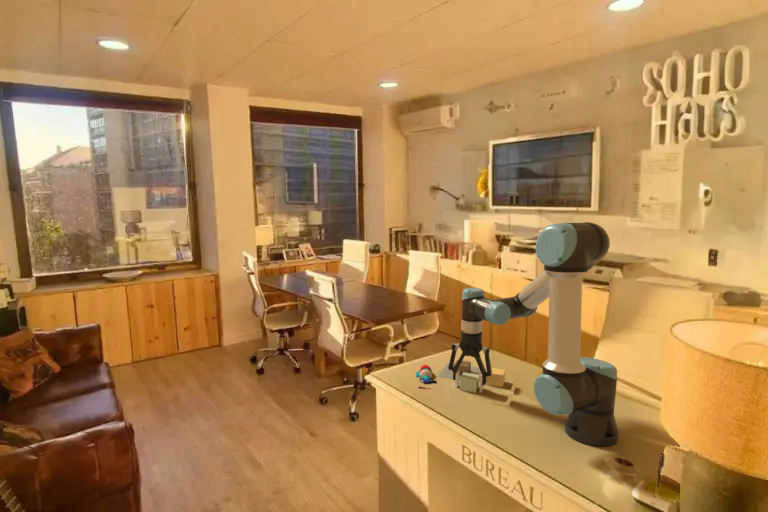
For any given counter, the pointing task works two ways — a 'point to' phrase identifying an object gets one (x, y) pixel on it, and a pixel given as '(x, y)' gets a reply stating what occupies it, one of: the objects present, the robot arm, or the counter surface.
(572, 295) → the robot arm
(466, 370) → the brown brick
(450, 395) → the counter surface
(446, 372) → the baseplate
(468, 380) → the sage brick
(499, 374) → the ochre brick
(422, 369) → the toy figure
